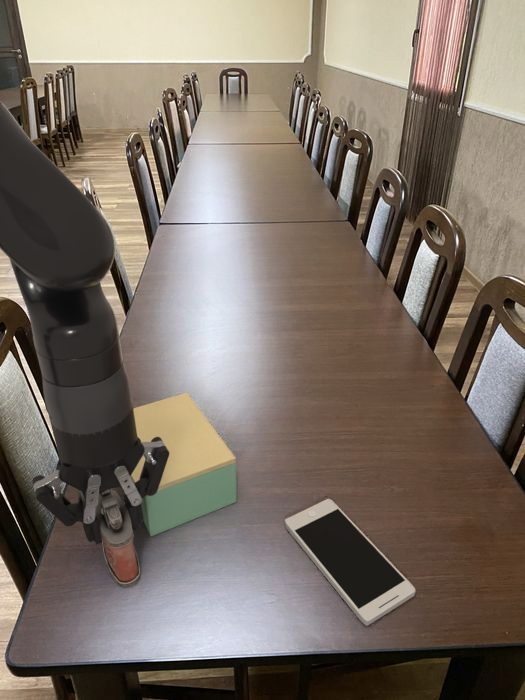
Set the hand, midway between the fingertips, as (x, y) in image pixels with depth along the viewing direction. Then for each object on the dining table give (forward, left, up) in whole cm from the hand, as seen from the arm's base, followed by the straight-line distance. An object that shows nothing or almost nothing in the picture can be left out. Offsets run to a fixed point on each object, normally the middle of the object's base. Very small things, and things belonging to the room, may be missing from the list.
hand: (115, 530), depth 59 cm
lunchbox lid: (+10, +10, +2) cm, 14 cm away
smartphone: (+23, -12, -5) cm, 26 cm away
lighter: (0, 0, -5) cm, 5 cm away
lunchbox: (+10, +9, -5) cm, 15 cm away
